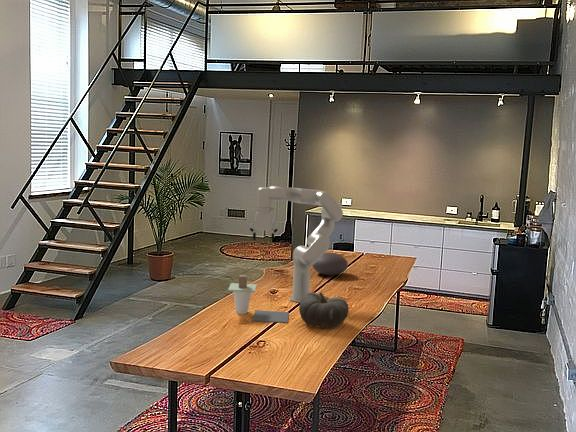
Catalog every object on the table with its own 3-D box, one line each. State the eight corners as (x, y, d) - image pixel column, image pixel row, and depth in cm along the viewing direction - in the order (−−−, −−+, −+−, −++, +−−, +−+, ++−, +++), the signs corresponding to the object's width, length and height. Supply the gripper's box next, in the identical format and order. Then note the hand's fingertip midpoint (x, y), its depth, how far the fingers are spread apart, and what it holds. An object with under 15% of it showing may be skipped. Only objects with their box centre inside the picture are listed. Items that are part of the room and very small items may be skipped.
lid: (256, 285, 343) (257, 273, 342) (254, 292, 329) (255, 279, 328) (231, 284, 343) (231, 272, 342) (227, 291, 329) (228, 278, 328)
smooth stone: (353, 274, 439) (354, 253, 437) (336, 280, 418) (337, 258, 416) (322, 269, 452) (323, 248, 450) (304, 274, 431) (305, 253, 429)
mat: (288, 312, 340) (288, 312, 340) (287, 323, 322) (287, 322, 322) (255, 311, 340) (255, 310, 340) (252, 321, 323) (252, 320, 322)
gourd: (297, 310, 336) (304, 280, 332) (343, 320, 336) (350, 290, 332) (295, 329, 312) (302, 297, 307) (344, 340, 311) (352, 308, 307)
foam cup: (253, 311, 340) (254, 287, 339) (246, 315, 332) (247, 291, 330) (237, 308, 343) (237, 285, 342) (229, 313, 335) (230, 289, 333)
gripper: (280, 209, 354) (279, 239, 356) (249, 208, 354) (248, 238, 356) (279, 211, 346) (278, 241, 349) (248, 210, 347) (247, 241, 349)
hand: (263, 240), depth 353 cm, fingers open, 9 cm apart
